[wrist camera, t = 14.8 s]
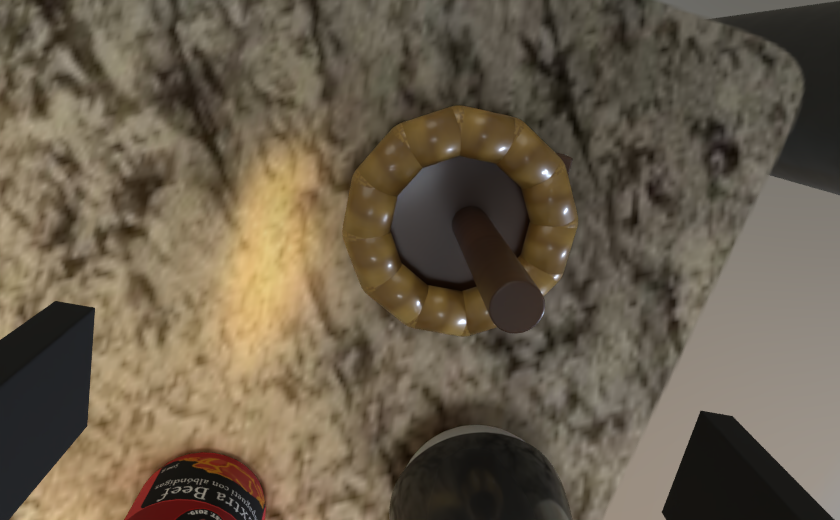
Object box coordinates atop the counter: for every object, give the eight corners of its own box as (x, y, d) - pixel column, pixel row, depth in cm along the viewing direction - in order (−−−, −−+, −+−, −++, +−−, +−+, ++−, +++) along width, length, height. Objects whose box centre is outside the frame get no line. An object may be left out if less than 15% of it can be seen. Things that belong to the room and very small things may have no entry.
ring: (594, 134, 32) (610, 139, 30) (534, 339, 36) (545, 358, 33) (369, 84, 31) (368, 85, 29) (329, 303, 34) (325, 320, 32)
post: (565, 154, 34) (677, 209, 21) (523, 305, 37) (601, 437, 24) (403, 120, 33) (418, 155, 20) (371, 278, 35) (366, 400, 23)
